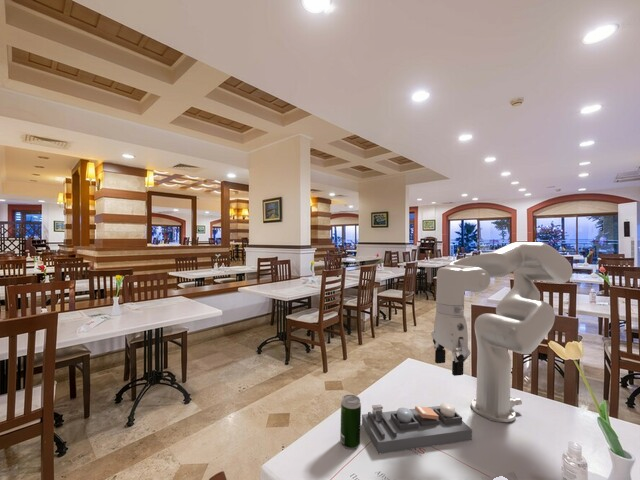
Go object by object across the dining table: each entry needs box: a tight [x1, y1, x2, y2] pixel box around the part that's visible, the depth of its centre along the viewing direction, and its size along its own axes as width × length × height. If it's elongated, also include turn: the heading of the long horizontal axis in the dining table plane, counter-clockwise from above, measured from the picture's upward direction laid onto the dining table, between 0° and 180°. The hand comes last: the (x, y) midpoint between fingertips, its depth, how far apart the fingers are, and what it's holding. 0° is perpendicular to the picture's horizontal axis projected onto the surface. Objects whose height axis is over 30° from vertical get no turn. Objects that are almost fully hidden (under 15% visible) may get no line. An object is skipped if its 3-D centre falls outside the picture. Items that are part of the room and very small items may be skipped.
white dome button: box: [439, 402, 456, 418], centre depth 86 cm, size 4×4×2 cm
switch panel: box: [361, 405, 473, 455], centre depth 84 cm, size 28×12×4 cm, turn 102°
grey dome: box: [396, 407, 412, 423], centre depth 83 cm, size 4×4×2 cm
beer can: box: [339, 394, 362, 451], centre depth 79 cm, size 5×5×12 cm
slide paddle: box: [371, 404, 384, 421], centre depth 85 cm, size 3×2×4 cm
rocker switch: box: [414, 405, 439, 419], centre depth 85 cm, size 5×4×1 cm
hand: (448, 368), depth 86 cm, fingers open, 7 cm apart
